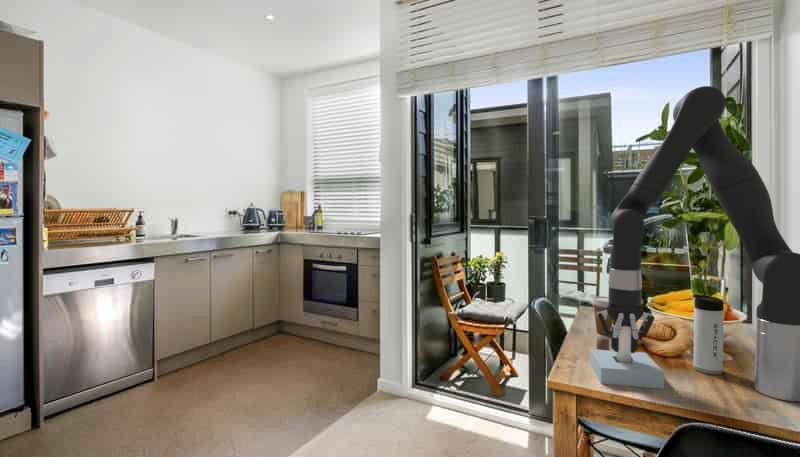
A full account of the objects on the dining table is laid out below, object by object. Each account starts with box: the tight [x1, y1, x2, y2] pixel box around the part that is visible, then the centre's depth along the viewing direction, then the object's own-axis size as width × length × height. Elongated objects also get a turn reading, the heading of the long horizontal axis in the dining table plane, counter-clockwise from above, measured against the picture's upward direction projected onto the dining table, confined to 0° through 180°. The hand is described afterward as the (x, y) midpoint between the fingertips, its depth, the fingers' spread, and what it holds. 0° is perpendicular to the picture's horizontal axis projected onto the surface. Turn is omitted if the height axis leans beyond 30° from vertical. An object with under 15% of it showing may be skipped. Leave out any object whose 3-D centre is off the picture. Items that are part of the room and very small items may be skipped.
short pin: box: [596, 336, 610, 350], centre depth 123 cm, size 3×3×5 cm
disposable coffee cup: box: [591, 296, 613, 337], centre depth 144 cm, size 10×10×12 cm
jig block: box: [589, 348, 665, 390], centre depth 108 cm, size 14×14×4 cm
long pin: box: [616, 325, 632, 364], centre depth 108 cm, size 3×3×10 cm
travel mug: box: [692, 293, 725, 376], centre depth 110 cm, size 6×7×20 cm
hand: (623, 351), depth 108 cm, fingers closed on long pin, 3 cm apart
